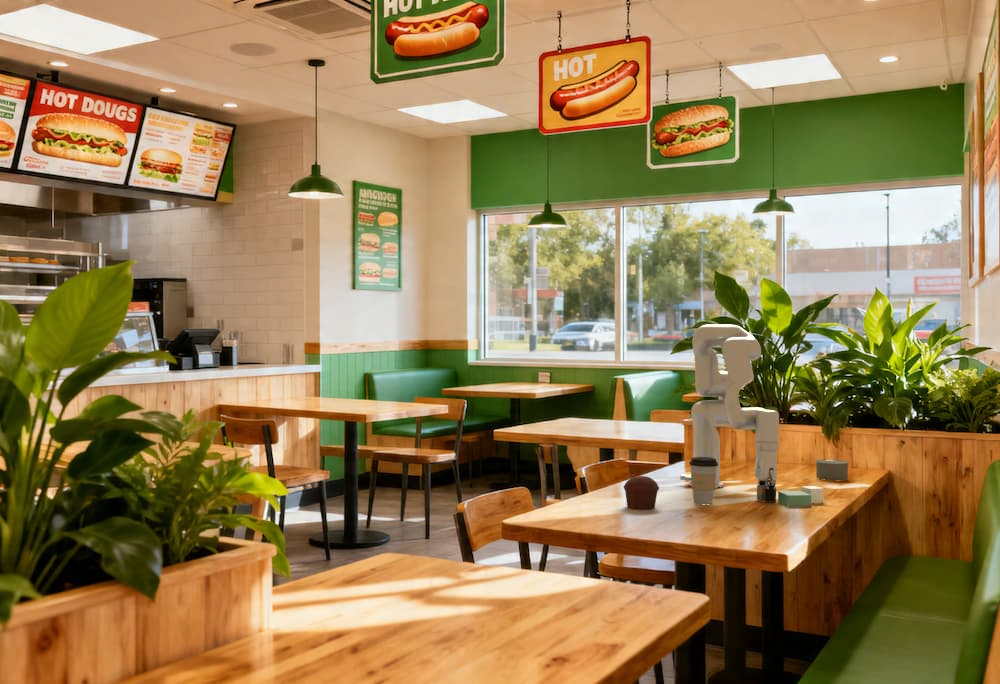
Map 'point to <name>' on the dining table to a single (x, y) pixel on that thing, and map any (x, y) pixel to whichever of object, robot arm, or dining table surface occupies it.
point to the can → (832, 469)
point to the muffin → (641, 493)
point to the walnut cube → (763, 493)
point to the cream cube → (814, 493)
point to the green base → (794, 498)
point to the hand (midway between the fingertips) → (766, 498)
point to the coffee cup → (703, 479)
